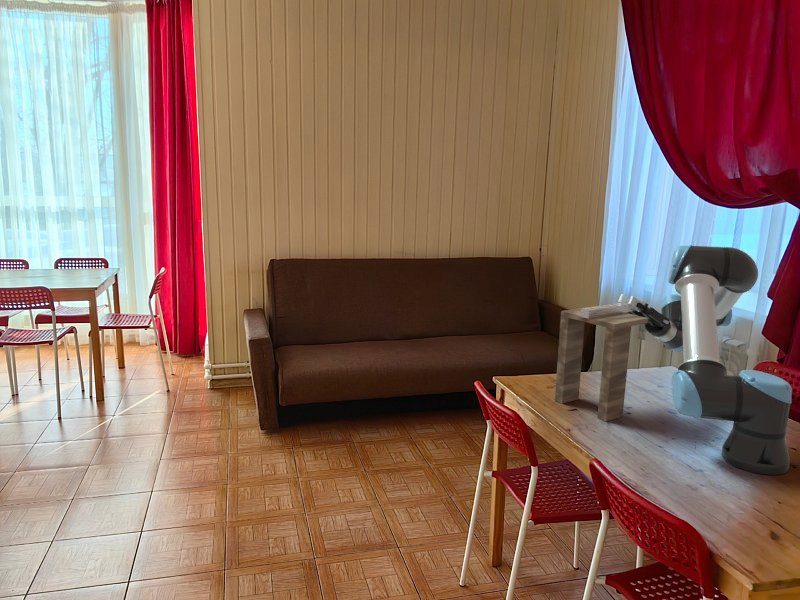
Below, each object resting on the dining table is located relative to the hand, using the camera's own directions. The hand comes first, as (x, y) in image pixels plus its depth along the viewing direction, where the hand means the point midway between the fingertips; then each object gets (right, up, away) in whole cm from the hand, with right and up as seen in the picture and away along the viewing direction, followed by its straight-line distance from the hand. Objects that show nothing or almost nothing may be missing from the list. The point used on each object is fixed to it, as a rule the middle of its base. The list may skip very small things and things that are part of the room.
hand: (625, 298), depth 190 cm
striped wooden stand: (-9, -34, +1) cm, 36 cm away
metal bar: (-5, -4, -2) cm, 7 cm away
